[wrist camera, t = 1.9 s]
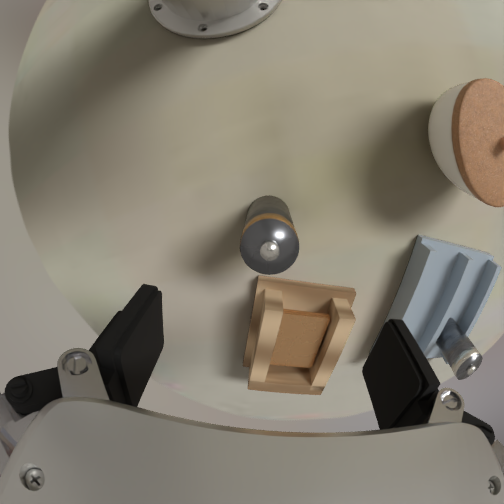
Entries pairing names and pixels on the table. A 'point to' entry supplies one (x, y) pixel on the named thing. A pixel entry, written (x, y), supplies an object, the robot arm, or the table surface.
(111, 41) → the table surface
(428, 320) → the trough board
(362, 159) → the table surface
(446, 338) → the cell
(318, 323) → the brown rectangular slab
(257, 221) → the cell
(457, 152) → the lidded jar
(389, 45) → the table surface
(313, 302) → the cradle
